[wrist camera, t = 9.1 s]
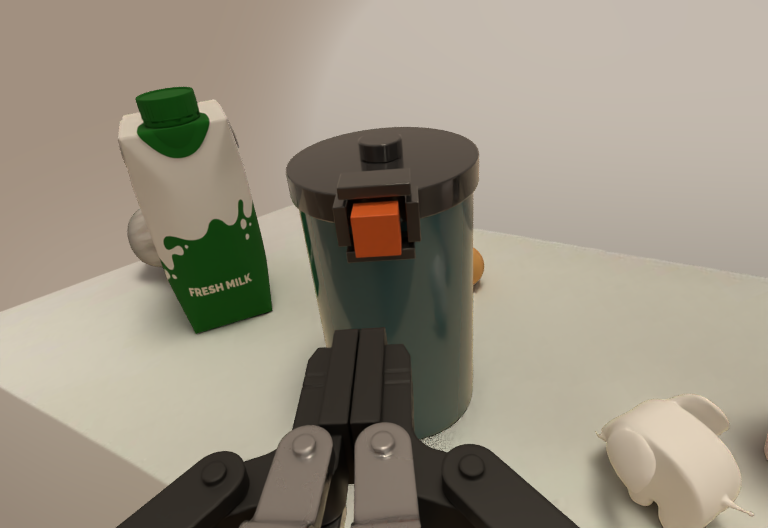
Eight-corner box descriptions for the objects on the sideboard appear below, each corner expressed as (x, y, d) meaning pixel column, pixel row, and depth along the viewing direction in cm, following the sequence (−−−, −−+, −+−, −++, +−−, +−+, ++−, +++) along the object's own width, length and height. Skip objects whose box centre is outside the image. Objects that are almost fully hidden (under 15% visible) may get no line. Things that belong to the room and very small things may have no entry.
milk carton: (186, 343, 43) (95, 111, 33) (180, 291, 50) (105, 88, 40) (284, 313, 46) (229, 88, 35) (266, 268, 53) (215, 70, 42)
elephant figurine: (637, 421, 32) (655, 352, 29) (771, 524, 26) (812, 449, 23) (559, 471, 30) (570, 401, 26) (687, 597, 23) (720, 525, 20)
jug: (343, 320, 44) (307, 105, 34) (464, 314, 43) (462, 92, 33) (319, 468, 31) (251, 194, 22) (490, 463, 30) (499, 176, 21)
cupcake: (178, 289, 57) (253, 275, 53) (109, 268, 48) (194, 250, 45) (183, 213, 59) (254, 196, 56) (118, 181, 51) (198, 158, 48)
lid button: (358, 242, 23) (352, 203, 22) (401, 239, 23) (398, 199, 22) (355, 258, 22) (349, 217, 21) (401, 255, 22) (398, 214, 21)
